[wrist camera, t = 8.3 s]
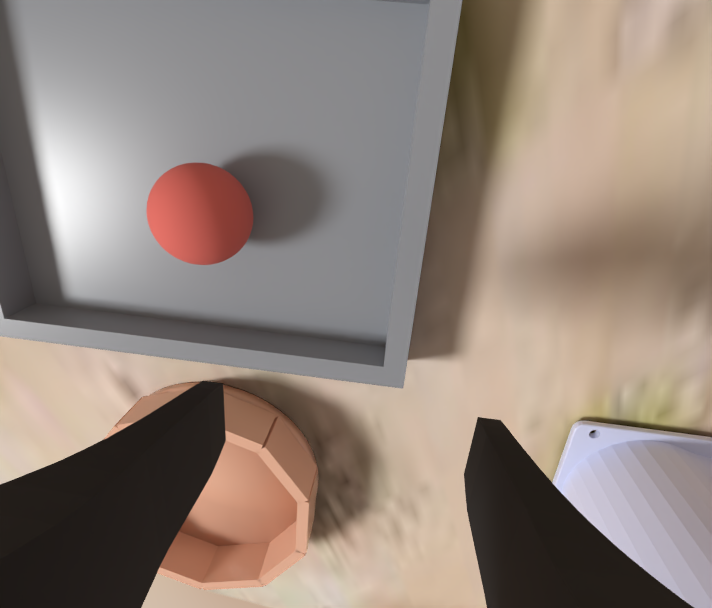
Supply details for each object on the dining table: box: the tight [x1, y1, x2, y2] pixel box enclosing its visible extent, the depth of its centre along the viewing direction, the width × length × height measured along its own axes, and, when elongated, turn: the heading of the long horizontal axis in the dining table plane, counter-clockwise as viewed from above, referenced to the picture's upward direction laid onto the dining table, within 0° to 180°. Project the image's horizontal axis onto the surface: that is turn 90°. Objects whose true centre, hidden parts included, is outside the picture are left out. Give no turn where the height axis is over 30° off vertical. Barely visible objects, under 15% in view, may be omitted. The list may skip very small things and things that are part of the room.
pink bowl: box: [104, 382, 319, 590], centre depth 24 cm, size 12×13×3 cm
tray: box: [0, 0, 462, 388], centre depth 18 cm, size 20×16×2 cm
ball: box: [147, 163, 253, 265], centre depth 17 cm, size 4×4×4 cm
